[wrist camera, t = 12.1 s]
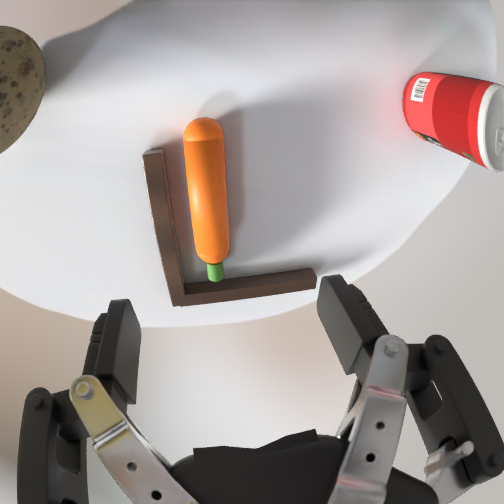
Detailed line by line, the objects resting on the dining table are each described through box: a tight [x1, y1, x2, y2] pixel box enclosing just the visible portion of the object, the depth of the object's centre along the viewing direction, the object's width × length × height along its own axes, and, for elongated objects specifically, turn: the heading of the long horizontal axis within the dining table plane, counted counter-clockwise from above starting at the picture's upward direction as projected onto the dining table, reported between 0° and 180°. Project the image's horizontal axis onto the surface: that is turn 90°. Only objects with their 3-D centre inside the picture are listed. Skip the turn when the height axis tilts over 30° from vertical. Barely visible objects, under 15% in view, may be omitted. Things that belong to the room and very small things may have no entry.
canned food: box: [403, 72, 504, 172], centre depth 18 cm, size 8×8×11 cm
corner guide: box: [142, 148, 317, 307], centre depth 26 cm, size 16×16×2 cm
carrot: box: [183, 117, 230, 282], centre depth 24 cm, size 15×3×3 cm, turn 1°
